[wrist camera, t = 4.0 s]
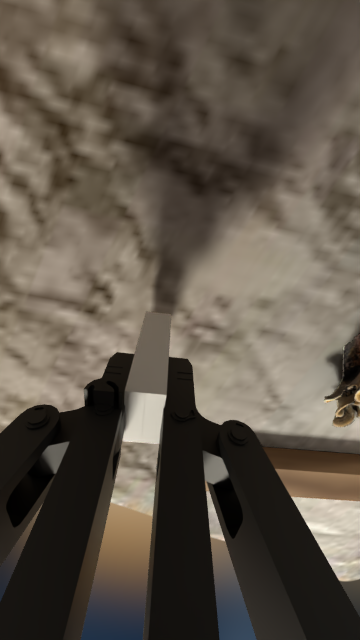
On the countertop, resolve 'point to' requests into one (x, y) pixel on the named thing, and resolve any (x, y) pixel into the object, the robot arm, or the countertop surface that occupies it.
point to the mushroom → (348, 386)
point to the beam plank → (317, 473)
